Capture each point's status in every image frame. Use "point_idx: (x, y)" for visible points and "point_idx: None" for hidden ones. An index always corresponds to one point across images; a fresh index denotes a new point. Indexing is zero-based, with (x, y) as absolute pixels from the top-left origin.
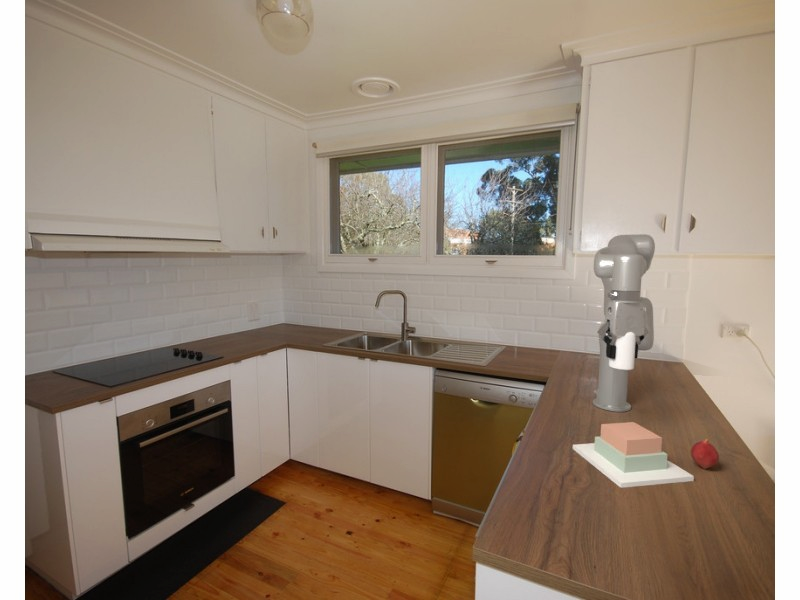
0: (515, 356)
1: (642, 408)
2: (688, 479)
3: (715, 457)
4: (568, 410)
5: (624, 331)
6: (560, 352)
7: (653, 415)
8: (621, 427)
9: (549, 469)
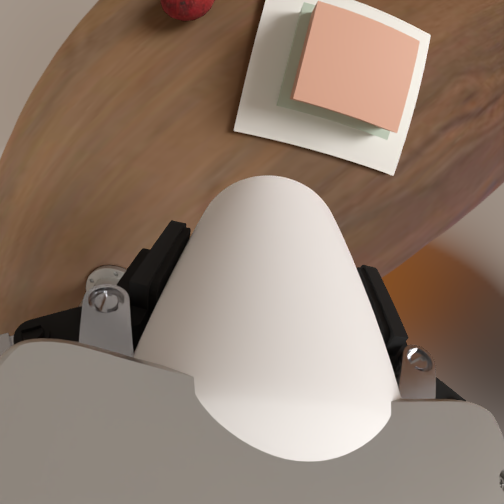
0: None
1: (70, 264)
2: None
3: None
4: None
5: (420, 462)
6: None
7: (72, 231)
8: (366, 90)
9: (478, 142)
